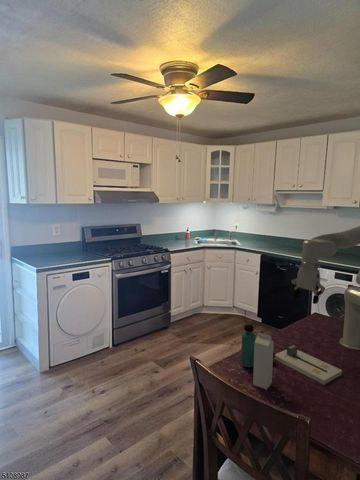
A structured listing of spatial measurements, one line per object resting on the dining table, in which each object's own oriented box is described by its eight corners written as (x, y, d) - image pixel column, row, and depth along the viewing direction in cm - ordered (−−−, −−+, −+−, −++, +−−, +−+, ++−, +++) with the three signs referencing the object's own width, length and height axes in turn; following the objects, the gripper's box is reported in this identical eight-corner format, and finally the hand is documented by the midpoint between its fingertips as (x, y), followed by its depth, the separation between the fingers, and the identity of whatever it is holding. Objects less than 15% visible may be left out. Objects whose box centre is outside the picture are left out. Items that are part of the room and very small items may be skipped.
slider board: (291, 350, 161) (291, 346, 160) (341, 374, 139) (342, 369, 139) (273, 358, 153) (274, 354, 152) (324, 384, 132) (324, 379, 131)
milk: (258, 378, 136) (260, 329, 133) (272, 383, 132) (274, 333, 130) (252, 384, 131) (254, 334, 128) (266, 390, 128) (268, 338, 125)
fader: (291, 351, 155) (292, 344, 154) (297, 354, 152) (297, 347, 152) (286, 353, 152) (286, 346, 152) (291, 356, 150) (292, 349, 149)
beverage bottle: (255, 371, 142) (257, 329, 139) (240, 369, 143) (241, 327, 140) (254, 363, 148) (256, 323, 145) (240, 362, 149) (241, 322, 146)
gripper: (331, 268, 145) (327, 304, 147) (297, 262, 159) (294, 294, 161) (322, 270, 141) (318, 307, 143) (289, 263, 155) (285, 296, 157)
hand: (305, 300), depth 152 cm, fingers open, 9 cm apart
